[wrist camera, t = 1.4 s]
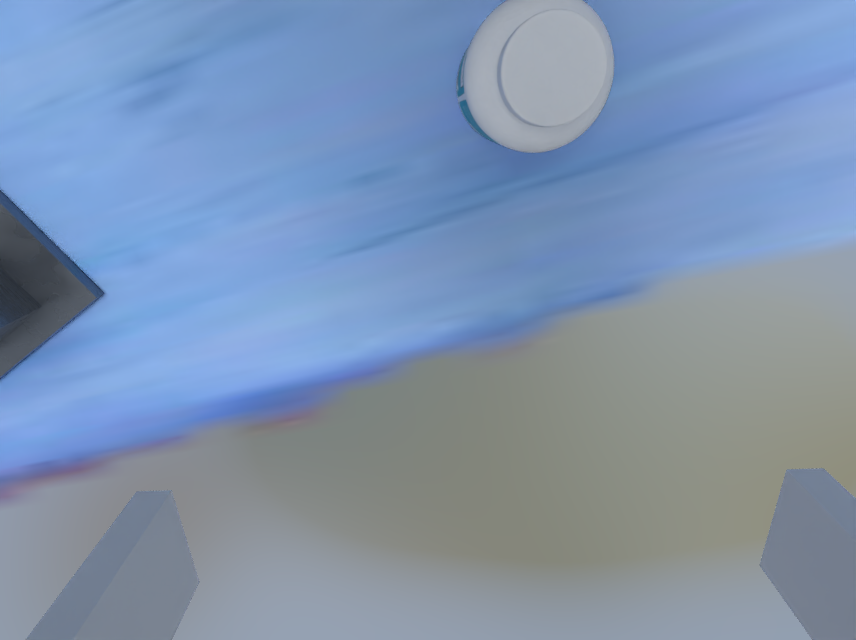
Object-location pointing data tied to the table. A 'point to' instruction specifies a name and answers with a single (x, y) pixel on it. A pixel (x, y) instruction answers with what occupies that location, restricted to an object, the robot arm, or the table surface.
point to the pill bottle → (536, 74)
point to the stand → (34, 287)
